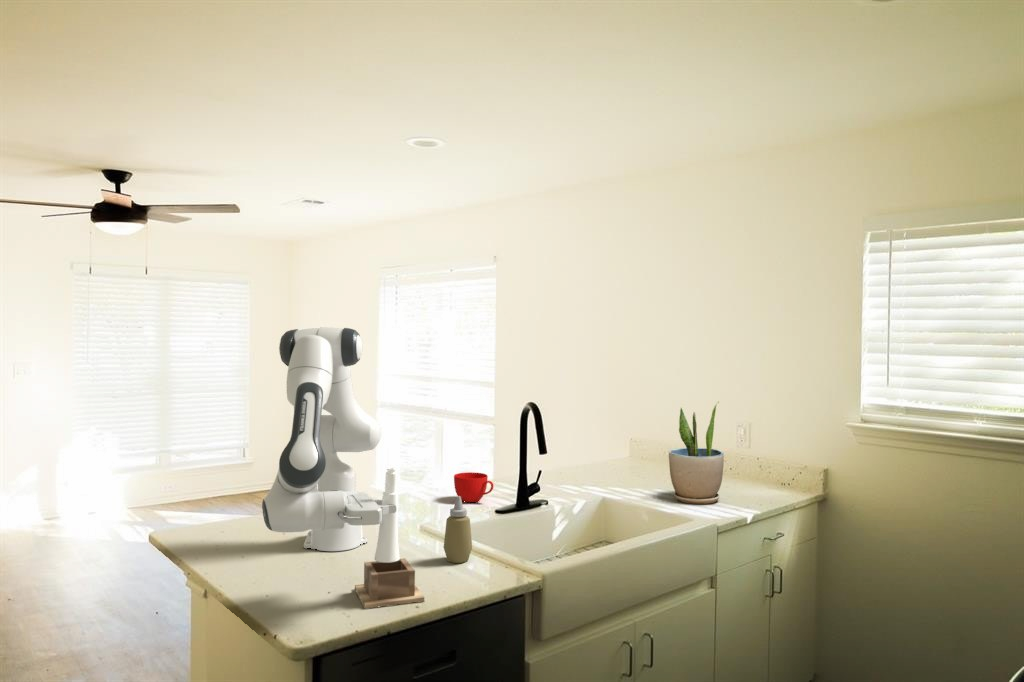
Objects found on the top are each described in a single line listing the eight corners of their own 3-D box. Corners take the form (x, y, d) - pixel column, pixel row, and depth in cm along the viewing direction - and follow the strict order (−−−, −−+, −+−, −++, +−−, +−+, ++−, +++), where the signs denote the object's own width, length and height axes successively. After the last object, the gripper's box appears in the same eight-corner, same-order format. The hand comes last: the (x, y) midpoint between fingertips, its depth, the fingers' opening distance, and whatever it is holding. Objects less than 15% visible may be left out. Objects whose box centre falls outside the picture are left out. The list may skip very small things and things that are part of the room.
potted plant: (665, 504, 278) (667, 400, 278) (670, 492, 298) (671, 396, 298) (722, 508, 272) (724, 402, 271) (723, 496, 292) (724, 398, 292)
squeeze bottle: (448, 566, 197) (449, 500, 197) (439, 557, 205) (440, 494, 205) (476, 563, 201) (477, 498, 201) (466, 554, 208) (467, 492, 208)
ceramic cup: (482, 508, 266) (483, 481, 266) (446, 502, 275) (447, 476, 275) (502, 502, 277) (502, 476, 277) (466, 496, 286) (467, 471, 286)
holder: (354, 589, 178) (355, 560, 178) (410, 582, 183) (410, 555, 183) (364, 609, 165) (365, 578, 165) (424, 601, 170) (424, 572, 170)
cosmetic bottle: (369, 559, 173) (373, 467, 174) (387, 554, 178) (392, 465, 179) (386, 564, 170) (391, 471, 170) (404, 559, 175) (409, 468, 175)
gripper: (342, 506, 160) (403, 502, 165) (329, 488, 179) (385, 485, 184) (341, 534, 160) (403, 529, 165) (329, 513, 179) (384, 509, 184)
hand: (393, 506), depth 175 cm, fingers closed on cosmetic bottle, 4 cm apart
